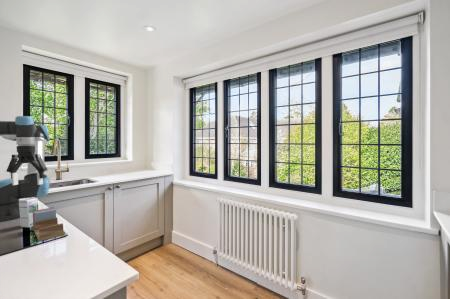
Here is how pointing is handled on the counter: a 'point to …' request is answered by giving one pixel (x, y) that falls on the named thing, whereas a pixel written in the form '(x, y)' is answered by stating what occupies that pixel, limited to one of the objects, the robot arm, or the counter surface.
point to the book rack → (46, 224)
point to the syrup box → (27, 211)
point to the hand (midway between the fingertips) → (27, 184)
